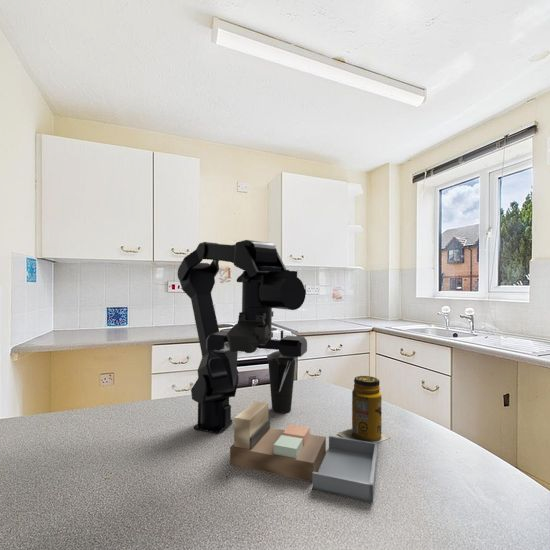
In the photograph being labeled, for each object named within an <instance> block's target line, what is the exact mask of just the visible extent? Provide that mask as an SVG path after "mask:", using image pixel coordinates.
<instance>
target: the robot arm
mask: <svg viewBox="0 0 550 550" xmlns="http://www.w3.org/2000/svg"><path fill="white" fill-rule="evenodd" d="M204 260H207V261H208V260H209V261H211V263H209V262H203V261H204ZM219 262H228V263H232V264H233V265H234V267H236V268H238V269H241V270H242V273H241V274H240V275H239V276H238V277H237V279H236V282H237V283H241V284H242V286H241V289H242V291H241V311H240V312H239V313H238V318H237V319H238V320H237V323H236V324H234V325H233V326H232V327H231V328H230V330H229V331H220V329H219V324H218V319H217V314H216V309H215V306H214V301H213V297H212V292H213V288H214V286H215V284H216V283H215V282H216V280H215V277H216V276H217V275H218V273H219V271H220V265H219ZM177 278H178V280H179V284H180V286H181V290H182V291H183V292H184V293H185V294H186V295H187V296H188V297H189V298H190V301H191V307H192V310H193V316H194V322H195V326H196V327H195V328H196V331H197V337H198V341H199V347H200V352H201V360H200V363H199V364H198V365H199V366H198V368H197V378H196V381H195V383H194V384H193V386H192V387H191V389H190V392H191V393H190V394H191V399H192V400H193V401H195V402H196V403H197V423H196V424H194V425H193V429H194V430H197V431H202V432H203V431H204V432H208V433H214V434H220V433H222V432H223V431H224V430H225V429H226V428H227V427H228V426H229V425H232V423H233V419H232V417H231V416H232V405H231V404H230V398H234V397H236V393H237V389H238V385H239V378H240V377H239V370H238V356H239V355H238V353H239V352H241V353H243V352H244V353H245V354H252V353H255V352H256V351H257V349H264V350H276V351H279V352H280V353H281V354H282V355H280V356H279V357H277V359H278V375H277V392H280V390H281V388H282V385H283V382H284V380H285V377H286V374H287V372H288V369H289V367H290V365H291V363H292V361H294V360H295V359H296V360H297V359H298V358H300V357H302V356H304V355H305V353H307V351H308V341H307V339H306V338H305V336H295V335H286V336H283V338H282V339H281V338H280V339H275V338H274V332H273V331H272V319H273V318H272V317H274V311H273V309H279V310H289V311H297V310H298V309H300V308H301V307H302V305H303V304H304V303H305V300H306V295H307V294H306V293H307V292H306V288H305V285H304V282H303V281H302V280H301V279H300V278H299V277H298V270H295V269H287V267H286V266H285V264H284V262H283V260H282V258H281V256H280V255H279V252H278V250H277V247H276V244H274V243H272V242H267V241H259V240H250V239H245V240H244V239H243V240H240V241H237V242H235V243H234V244H226V243H225V244H223V243H218V242H207V241H203V242H199V244H198V245H197V247H196V249H194V250H193V251H192V252H190V253H189V254H188V255H186V256H184V258H183V259H182V261H181V263H180V265H179V267H178V268H177ZM272 338H273V339H272ZM296 360H295V361H296Z"/></svg>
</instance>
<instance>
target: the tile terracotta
mask: <svg viewBox="0 0 550 550" xmlns="http://www.w3.org/2000/svg"><path fill="white" fill-rule="evenodd" d="M310 429H311V427H310V426H302V425H296V424H290V423H289V425H288V426H287V428H285V429H284V430H285V431H284V432H283V435H284V436H290V437H296V438H302V439H303V445H304V444H305V443H306V441H307V439H308V437H309V436H310V433H311V431H310Z"/></svg>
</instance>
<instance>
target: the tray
mask: <svg viewBox="0 0 550 550" xmlns="http://www.w3.org/2000/svg"><path fill="white" fill-rule="evenodd" d="M378 445H379V442H378V443H373V442H367V441H361V440H355V439H348V438H343V437H342V436H337V435H335V436H334V435H329V436H328V448H327V450H326V454H325V456H324V458H323V461H322V463H321V465H320V468H319V470H318V472H313V473H312V482H311V484H312V486H311V487H312V489H311V490H312V491H317V492H320V493H321V492H322V493H327V494H330V495H335V496H339V497H344V498H347V499H348V498H349V499H354V500H358V501H363V502H365V503H371V504H373V503H374V496H375V495H374V494H375V486H376V477H377V467H378V459H379V458H378V457H379V455H378V454H379V446H378Z"/></svg>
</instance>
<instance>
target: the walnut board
mask: <svg viewBox="0 0 550 550" xmlns="http://www.w3.org/2000/svg"><path fill="white" fill-rule="evenodd" d="M285 430H286V429H281V428H280V429H278V428H274V427H270V430H269V431H268V432H267V433H266V434H265V435H264V436H263V437H262V439H261V440H260V441H259V442H258V443H257V444H256V445H255V446H254V447H253V449H252V450H251V449H246V448H241V447H235V446H234V443H233V444H232V445H230V447H229V450H230V451H229V465H232V466H236V467H241V468H245V469H251V470H255V471H260V472H264V473H269V474H274V475H277V476H283V477H288V478H292V479H297V480H301V481H307V482H311V483H312V473H313V472H319V470H320V467H321V465H322V463H323V460H324V458H325V456H326V453H327V449H326V448H327V446H326V445H327V442H326V441H327V436H323V435H317V434H316V435H315V434H310V436H309V437H308V439H307V441H306V443H305V444H304V445H303V448H302V449H301V451H300V453H299V455H298V456H297V458H293V457H288V456H282V455H277V454H274V444H275V443H276V441H277V440H278V439H279V438H280V436H281V435H283V432H284V431H285Z"/></svg>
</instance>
